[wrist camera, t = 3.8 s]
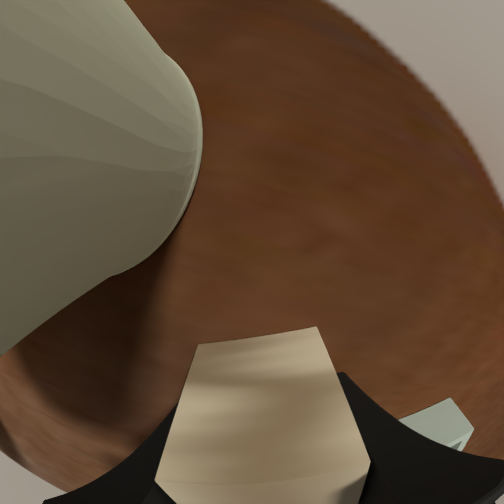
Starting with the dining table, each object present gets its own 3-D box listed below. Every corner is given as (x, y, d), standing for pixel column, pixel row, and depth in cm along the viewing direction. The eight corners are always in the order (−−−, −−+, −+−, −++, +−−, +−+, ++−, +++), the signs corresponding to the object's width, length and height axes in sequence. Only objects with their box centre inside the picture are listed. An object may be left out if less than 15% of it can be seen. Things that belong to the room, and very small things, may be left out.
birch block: (224, 421, 11) (212, 534, 5) (198, 344, 10) (154, 480, 4) (322, 407, 11) (351, 520, 5) (316, 326, 10) (370, 461, 4)
